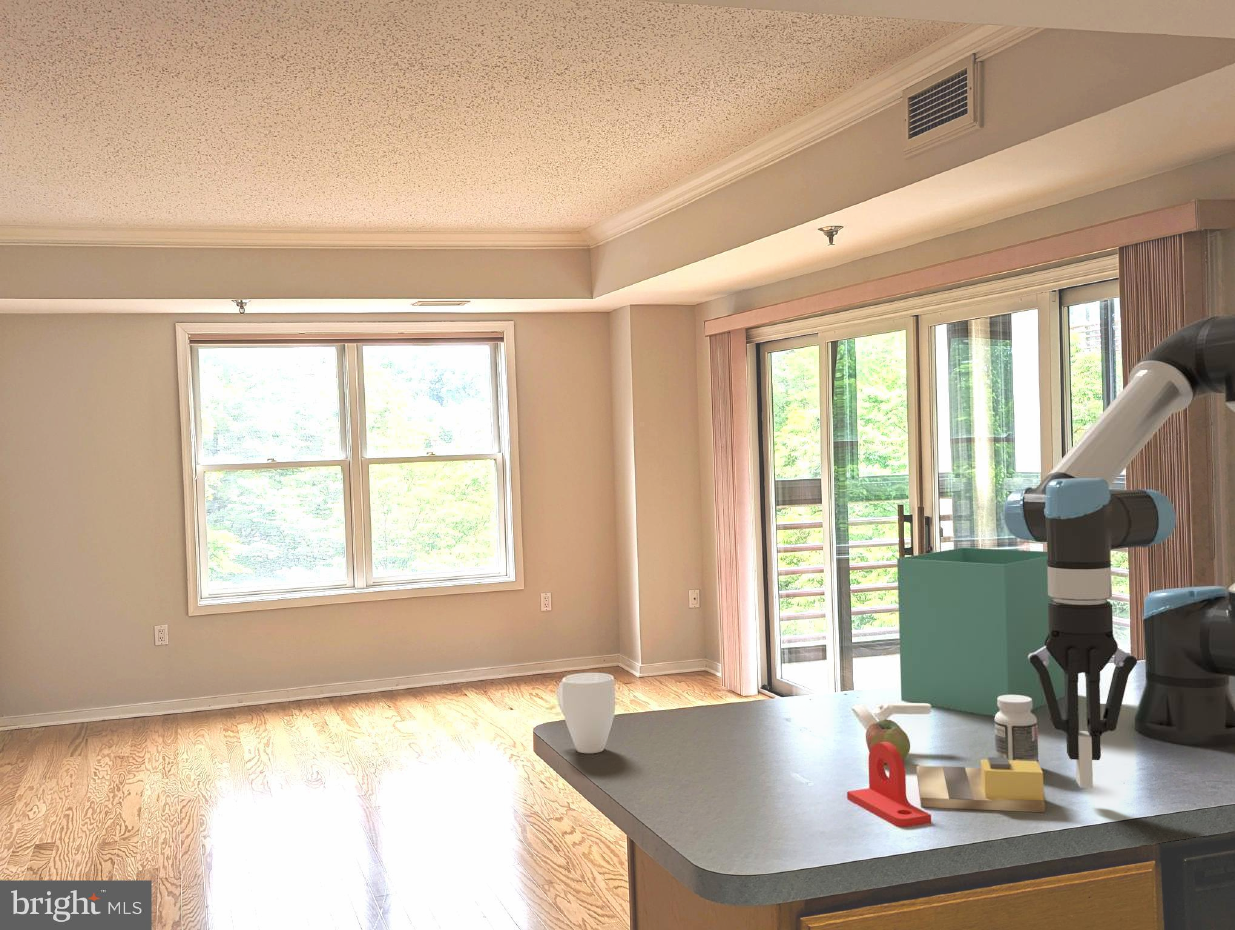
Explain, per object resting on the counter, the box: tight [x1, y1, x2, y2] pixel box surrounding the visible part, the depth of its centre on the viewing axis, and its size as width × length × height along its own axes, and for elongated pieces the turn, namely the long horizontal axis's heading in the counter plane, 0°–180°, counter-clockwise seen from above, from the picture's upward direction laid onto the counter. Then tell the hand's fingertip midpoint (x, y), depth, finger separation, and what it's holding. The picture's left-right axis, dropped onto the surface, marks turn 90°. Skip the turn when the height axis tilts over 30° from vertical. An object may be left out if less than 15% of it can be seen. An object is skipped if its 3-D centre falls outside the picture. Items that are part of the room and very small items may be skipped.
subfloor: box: [916, 765, 1046, 813], centre depth 143 cm, size 15×14×1 cm
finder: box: [980, 756, 1045, 801], centre depth 139 cm, size 7×5×4 cm
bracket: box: [846, 742, 932, 828], centre depth 137 cm, size 12×4×8 cm, turn 19°
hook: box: [850, 702, 932, 731], centre depth 165 cm, size 8×12×7 cm, turn 78°
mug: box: [556, 672, 616, 754], centre depth 171 cm, size 12×8×11 cm
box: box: [896, 547, 1065, 717], centre depth 195 cm, size 23×21×26 cm
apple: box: [865, 719, 911, 765], centre depth 159 cm, size 6×8×6 cm
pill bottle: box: [994, 695, 1040, 765], centre depth 153 cm, size 6×6×10 cm
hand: (1084, 784), depth 137 cm, fingers closed
